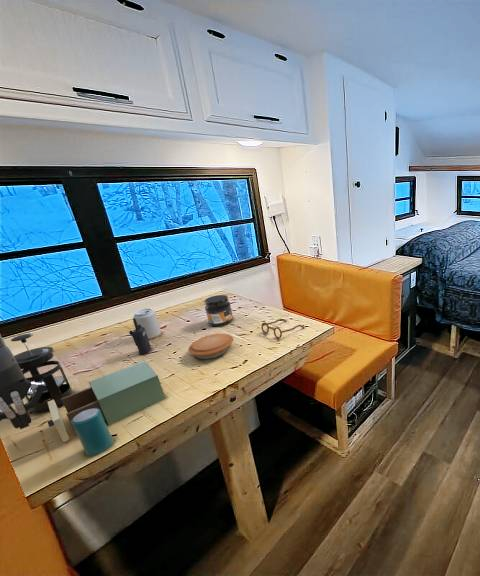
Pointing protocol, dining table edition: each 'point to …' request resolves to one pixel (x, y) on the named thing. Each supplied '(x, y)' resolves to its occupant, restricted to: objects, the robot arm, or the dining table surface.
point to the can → (148, 322)
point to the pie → (211, 346)
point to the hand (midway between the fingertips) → (24, 426)
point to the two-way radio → (140, 338)
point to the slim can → (92, 431)
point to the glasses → (277, 328)
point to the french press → (53, 384)
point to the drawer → (72, 409)
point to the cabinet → (127, 391)
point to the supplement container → (218, 310)
